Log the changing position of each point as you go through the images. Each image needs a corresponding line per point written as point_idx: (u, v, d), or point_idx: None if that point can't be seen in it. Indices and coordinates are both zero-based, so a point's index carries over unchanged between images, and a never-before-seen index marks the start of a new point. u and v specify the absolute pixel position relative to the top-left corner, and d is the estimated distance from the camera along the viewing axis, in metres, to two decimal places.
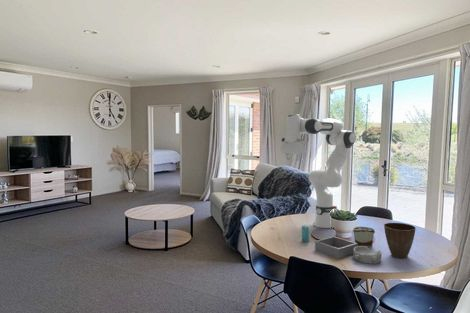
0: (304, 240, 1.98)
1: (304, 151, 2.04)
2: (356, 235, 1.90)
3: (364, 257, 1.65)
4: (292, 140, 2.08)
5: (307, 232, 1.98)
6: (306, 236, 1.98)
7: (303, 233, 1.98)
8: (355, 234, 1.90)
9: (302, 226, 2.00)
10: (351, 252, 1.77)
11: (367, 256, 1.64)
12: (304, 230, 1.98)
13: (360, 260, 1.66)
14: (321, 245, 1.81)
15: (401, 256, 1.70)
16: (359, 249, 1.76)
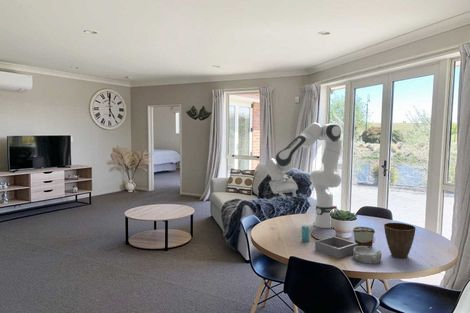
0: (304, 240, 1.98)
1: (273, 190, 2.07)
2: (356, 235, 1.90)
3: (364, 257, 1.65)
4: None
5: (307, 232, 1.98)
6: (306, 236, 1.98)
7: (303, 233, 1.98)
8: (355, 234, 1.90)
9: (302, 226, 2.00)
10: (351, 252, 1.77)
11: (367, 256, 1.64)
12: (304, 230, 1.98)
13: (360, 260, 1.66)
14: (321, 245, 1.81)
15: (401, 256, 1.70)
16: (359, 249, 1.76)
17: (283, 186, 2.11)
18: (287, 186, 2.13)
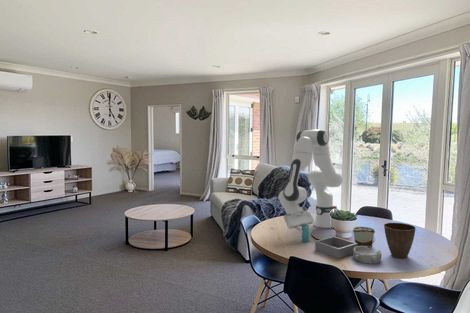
0: (304, 240, 1.98)
1: (288, 226, 1.97)
2: (356, 235, 1.90)
3: (364, 257, 1.65)
4: None
5: (307, 232, 1.98)
6: (306, 236, 1.98)
7: (303, 233, 1.98)
8: (355, 234, 1.90)
9: (302, 226, 2.00)
10: (351, 252, 1.77)
11: (367, 256, 1.64)
12: (304, 230, 1.98)
13: (360, 260, 1.66)
14: (321, 245, 1.81)
15: (401, 256, 1.70)
16: (359, 249, 1.76)
17: (298, 220, 2.01)
18: (303, 220, 2.03)
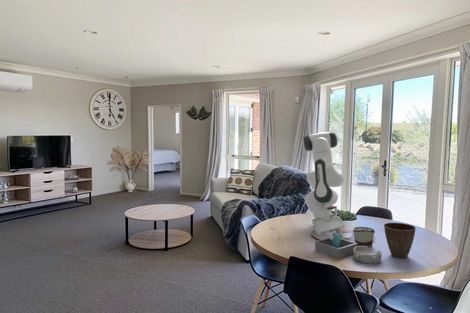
0: None
1: (318, 231, 1.79)
2: (356, 235, 1.90)
3: (364, 257, 1.65)
4: None
5: (339, 240, 1.80)
6: (337, 245, 1.80)
7: (334, 242, 1.81)
8: (355, 234, 1.90)
9: (333, 234, 1.83)
10: (351, 252, 1.77)
11: (367, 256, 1.64)
12: (335, 238, 1.80)
13: (360, 260, 1.66)
14: (321, 245, 1.81)
15: (401, 256, 1.70)
16: (359, 249, 1.76)
17: (328, 225, 1.83)
18: (333, 225, 1.85)
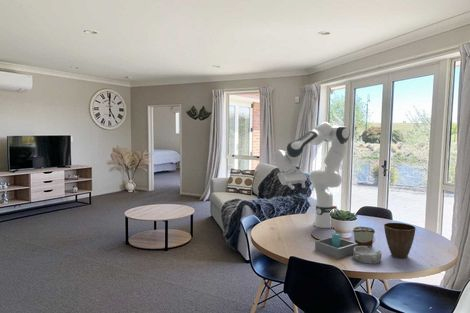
0: None
1: (282, 181, 2.03)
2: (356, 235, 1.90)
3: (364, 257, 1.65)
4: None
5: (339, 240, 1.80)
6: (337, 245, 1.80)
7: (334, 242, 1.81)
8: (355, 234, 1.90)
9: (332, 234, 1.82)
10: (351, 252, 1.77)
11: (367, 256, 1.64)
12: (335, 238, 1.80)
13: (360, 260, 1.66)
14: (321, 245, 1.81)
15: (401, 256, 1.70)
16: (359, 249, 1.76)
17: (292, 177, 2.07)
18: (296, 177, 2.09)
